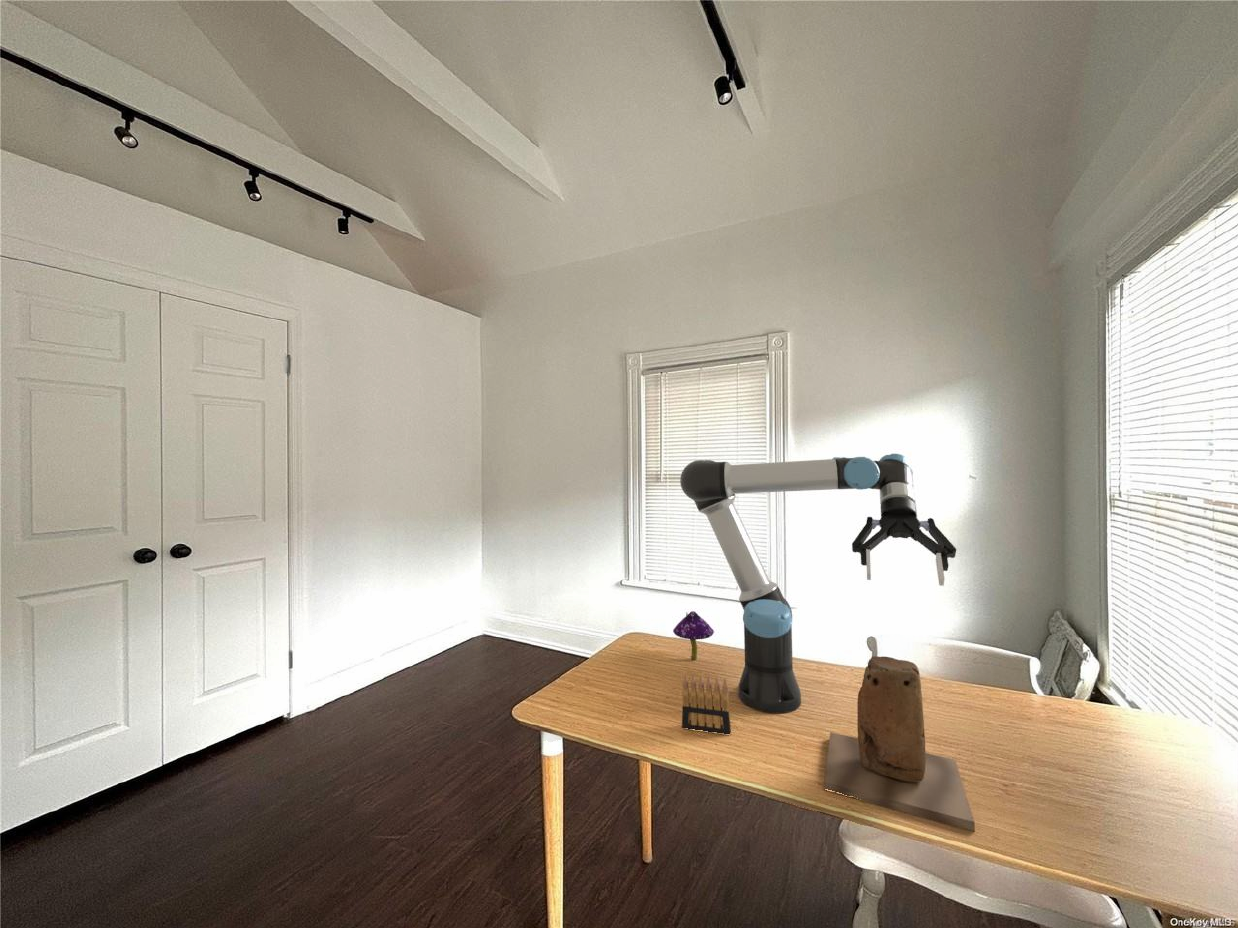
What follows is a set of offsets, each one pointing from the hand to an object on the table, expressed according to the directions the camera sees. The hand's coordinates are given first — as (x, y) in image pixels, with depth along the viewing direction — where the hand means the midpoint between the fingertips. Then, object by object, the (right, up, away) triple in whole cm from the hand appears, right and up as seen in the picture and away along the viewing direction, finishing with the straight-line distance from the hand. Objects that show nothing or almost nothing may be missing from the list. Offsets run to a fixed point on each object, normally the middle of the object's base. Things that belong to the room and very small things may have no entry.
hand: (904, 579), depth 102 cm
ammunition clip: (-42, -35, +3) cm, 55 cm away
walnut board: (-11, -34, -14) cm, 38 cm away
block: (-11, -32, -14) cm, 37 cm away
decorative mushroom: (-39, -35, +42) cm, 67 cm away
